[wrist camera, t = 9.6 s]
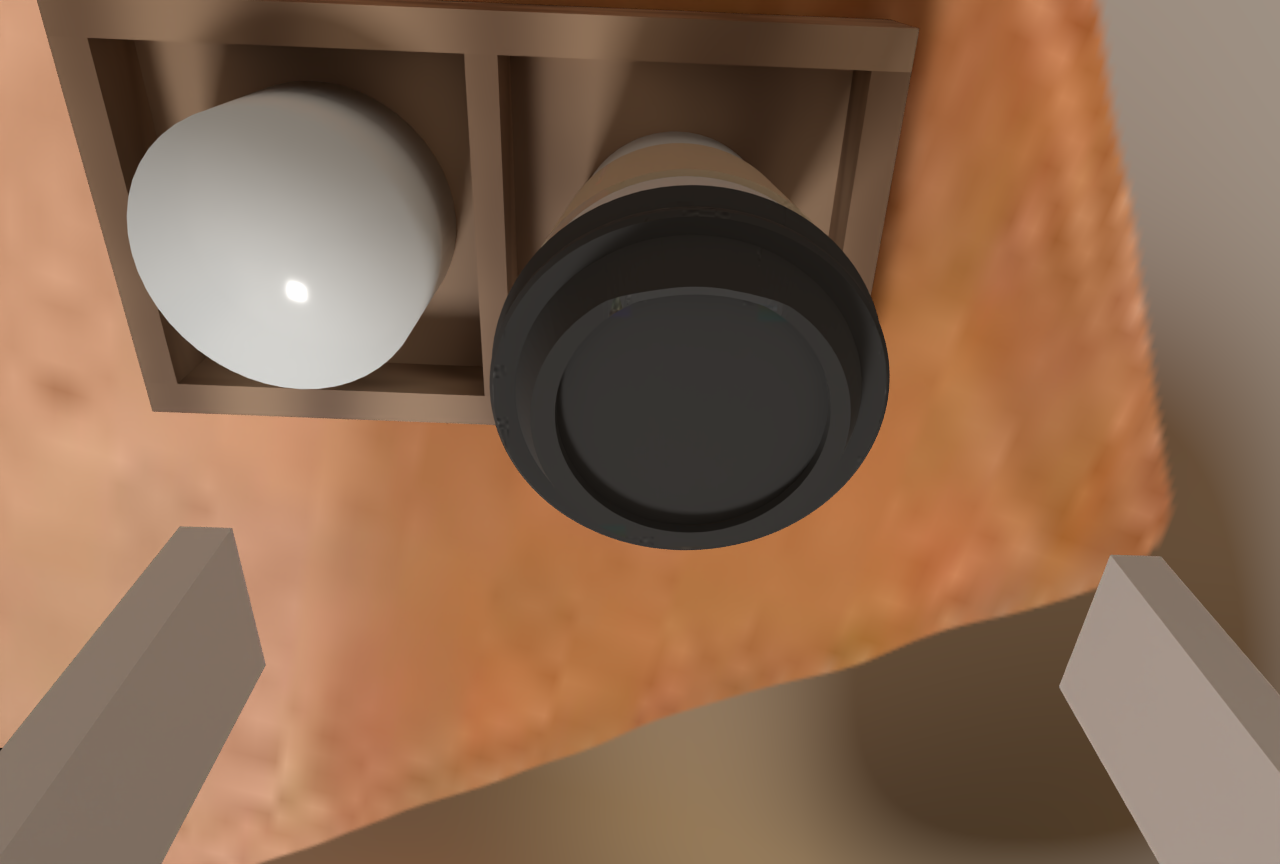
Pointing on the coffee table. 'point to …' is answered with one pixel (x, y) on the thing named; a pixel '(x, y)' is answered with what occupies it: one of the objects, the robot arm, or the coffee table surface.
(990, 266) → the coffee table surface
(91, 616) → the coffee table surface
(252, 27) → the box
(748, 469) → the coffee cup
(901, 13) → the coffee table surface
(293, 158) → the white ceramic dome
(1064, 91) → the coffee table surface
